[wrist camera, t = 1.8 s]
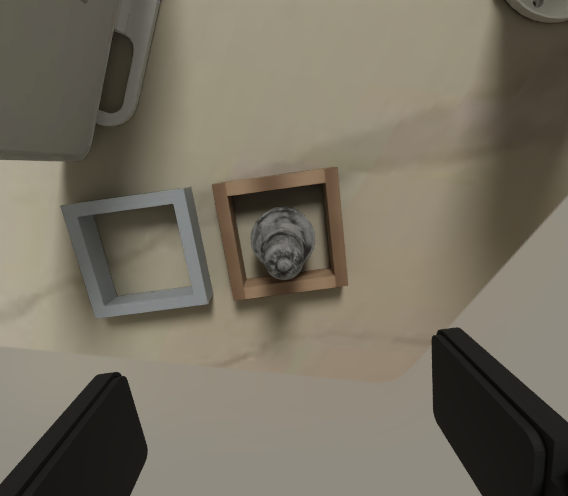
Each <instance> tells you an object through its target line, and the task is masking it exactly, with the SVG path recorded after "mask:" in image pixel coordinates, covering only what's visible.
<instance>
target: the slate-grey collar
mask: <svg viewBox="0 0 568 496" xmlns="http://www.w3.org/2000/svg"><path fill="white" fill-rule="evenodd" d="M167 204H173V205H174V209H175V214H176V218H177V223H178V227H179V231H180V236H181V240H182V245H183V249H184V254H185V258H186V263H187V267H188V272H189V276H190V281H191V285H192V286H190V287H183V288H175V289H168V290H160V291H152V292H145V293H137V294H130V295H122V296H117V295H116V291H115V288H114V284H113V281H112V278H111V274H110V271H109V267H108V264H107V260H106V257H105V253H104V250H103V247H102V243H101V240H100V236H99V233H98V229H97V226H96V222H95V219H94V216H93V215H95V214H102V213H110V212H117V211H124V210H131V209H139V208H146V207H153V206H160V205H167ZM61 210H62V213H63V216H64V219H65V222H66V226H67V229H68V232H69V235H70V238H71V241H72V245H73V248H74V251H75V254H76V257H77V260H78V264H79V267H80V270H81V273H82V276H83V279H84V283H85V286H86V289H87V292H88V295H89V299H90V302H91V305H92V308H93V311H94V314H95V318H96V319H98V318H105V317H113V316H121V315H128V314H136V313H144V312H151V311H159V310H166V309H174V308H182V307H189V306H197V305H205V304H208V303H209V301H210V299H211V297H212V295H213V291H212V286H211V281H210V276H209V272H208V267H207V262H206V257H205V252H204V247H203V243H202V238H201V233H200V228H199V223H198V218H197V214H196V209H195V204H194V199H193V194H192V189H191V187H187V188H180V189H173V190H165V191H158V192H151V193H144V194H137V195H130V196H122V197H115V198H108V199H101V200H94V201H87V202H80V203H73V204H68V205H62V206H61Z"/></svg>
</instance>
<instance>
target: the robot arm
mask: <svg viewBox="0 0 568 496" xmlns="http://www.w3.org/2000/svg"><path fill="white" fill-rule="evenodd" d="M506 1H507V2H508V3H509V5H510V6H511V7H512V8H514V9H515V10H516V11H517V12H519V13H520V14H521V15H523V16H525V17H528V18H530V19H532V20H535V21H540V22H545V23H554V22H564V21H567V20H568V0H506ZM432 379H433V381H432V382H433V413H434V417H435V419H436V422H437V424H438V426H439V427H440V428H441V430H442V432H443V433H444V435H445V437H446V438H447V440H448V442H449V443H450V445H451V446H452V448H453V449H454V451H455V453H456V454H457V456H458V458H459V459H460V461H461V462H462V464H463V466H464V467H465V469H466V470H467V472H468V474H469V475H470V477H471V478H472V480H473V482H474V483H475V485H476V486H477V488H478V490H479V491H480V493H481V494H482V496H568V422H567V421H566V420H564V419H563V418H562V417H561V416H560V415H559V414H558V413H557V412H555V411H554V410H553V409H552V408H551V407H550V406H548V405H547V404H546V403H545V402H544V401H543V400H542V399H541V398H539V397H538V396H537V395H536V394H535V393H534V392H533V391H531V390H530V389H529V388H528V387H527V386H526V385H525V384H523V383H522V382H521V381H520V380H519V379H518V378H517V377H515V376H514V375H513V374H512V373H511V372H509V370H507V369H506V368H505V367H504V366H503V365H502V364H500V363H499V362H498V361H497V360H496V359H495V358H494V357H493V356H491V355H490V354H489V353H488V352H487V351H486V350H485V349H483V348H482V347H481V346H480V345H479V344H478V343H476V342H475V341H474V340H473V339H472V338H471V337H470V336H469V335H467V334H466V333H465V332H464V331H463V330H462V329H460V328H449V329H441V330H438V331H437V335H434V336H432ZM147 451H148V449H147V444H146V441H145V437H144V434H143V431H142V427H141V424H140V421H139V417H138V414H137V411H136V407H135V404H134V400H133V397H132V394H131V391H130V387H129V384H128V380H127V378H126V377H125V376H122V375H121V374H120V373H119V372H114V373H105V374H99V375H97V376H95V377H94V378H93V380H92V381H91V382H90V383H89V384H88V385H87V386H86V388H85V389H84V390H83V391H82V392H81V393H80V394H79V395H78V397H77V398H76V399H75V400H74V401H73V402H72V403H71V404H70V406H69V407H68V408H67V409H66V410H65V411H64V412H63V414H62V415H61V416H60V417H59V418H58V419H57V420H56V421H55V423H54V424H53V425H52V426H51V427H50V428H49V430H48V431H47V432H46V433H45V434H44V435H43V437H41V439H40V440H39V441H38V442H37V443H36V444H35V445H34V446H33V448H32V449H31V450H30V451H29V452H28V453H27V454H26V456H25V457H24V458H23V459H22V460H21V461H20V462H19V463H18V465H17V466H16V467H15V468H14V469H13V470H12V471H11V473H10V474H9V475H8V476H7V477H6V478H5V479H4V481H3V482H2V483H1V484H0V496H130V495H131V492H132V490H133V488H134V486H135V484H136V481H137V479H138V477H139V475H140V472H141V470H142V468H143V466H144V464H145V461H146V459H147Z"/></svg>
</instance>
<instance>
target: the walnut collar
mask: <svg viewBox="0 0 568 496" xmlns="http://www.w3.org/2000/svg"><path fill="white" fill-rule="evenodd" d="M319 183H322V186H323V196H324V206H325V215H326V225H327V235H328V244H329V254H330V264H331V268H326V269H318V270H311V271H303V272H300V273H299V274H298V275H297V276H295V277H294V278H291V279H288V280H281V279H277V278H274V277H273V276H266V277H258V278H250V279H246V274H245V268H244V263H243V257H242V251H241V246H240V240H239V234H238V229H237V223H236V217H235V211H234V206H233V200H232V195H239V194H247V193H254V192H261V191H268V190H275V189H283V188H290V187H297V186H304V185H311V184H319ZM212 189H213V194H214V199H215V204H216V210H217V215H218V220H219V225H220V231H221V236H222V241H223V246H224V252H225V257H226V262H227V267H228V273H229V278H230V283H231V288H232V294H233V299H234V301H235V300H243V299H250V298H258V297H266V296H273V295H281V294H288V293H296V292H304V291H311V290H319V289H326V288H334V287H342V286H348V278H347V267H346V256H345V244H344V233H343V222H342V211H341V200H340V189H339V178H338V167H330V168H323V169H316V170H308V171H301V172H294V173H287V174H280V175H273V176H266V177H258V178H251V179H244V180H237V181H230V182H223V183H216V184H212Z"/></svg>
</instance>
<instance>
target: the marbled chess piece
mask: <svg viewBox="0 0 568 496" xmlns="http://www.w3.org/2000/svg"><path fill="white" fill-rule="evenodd" d="M251 245H252V249H253V251H254V254H255V255H256V257H257V258H258V259H259V261H261V262H262V263H263V264H264V266H265V268H266V270H267V271H268V273H269V274H270V275H271V276H273V277H274V278H277V279H281V280H288V279H291V278H294V277H295V276H297V275H298V274H299V273H300V271H301V270H302V268H303V265H304V262H305V261H306V260H307V259H308V258H309V257H310V255H311V253H312V251H313V249H314V245H315V232H314V229H313V226H312V224H311V223H310V221H309V220H308V218H307V217H305V216H304V215H303V214H302V213H301V212H299V211H297V210H295V209H293V208H291V207H286V206H279V207H275V208H272V209H270V210H268V211H267V212H266V213H264V214H263V215H262V216H261V217H260V218H259V219H258V220H257V221H256V223H255V225H254V227H253V229H252V234H251Z"/></svg>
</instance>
